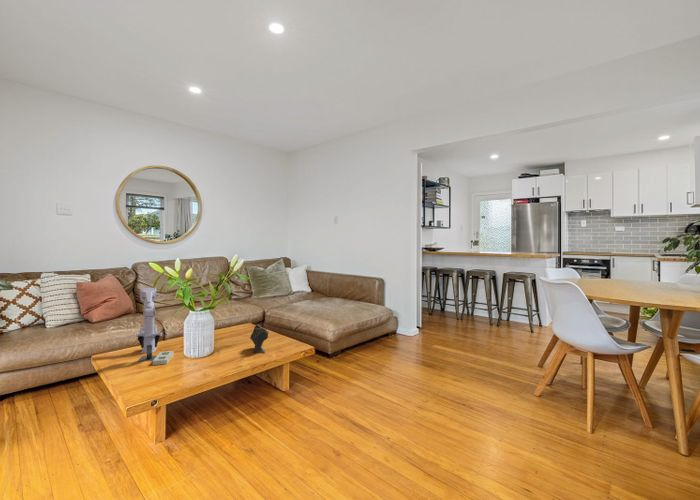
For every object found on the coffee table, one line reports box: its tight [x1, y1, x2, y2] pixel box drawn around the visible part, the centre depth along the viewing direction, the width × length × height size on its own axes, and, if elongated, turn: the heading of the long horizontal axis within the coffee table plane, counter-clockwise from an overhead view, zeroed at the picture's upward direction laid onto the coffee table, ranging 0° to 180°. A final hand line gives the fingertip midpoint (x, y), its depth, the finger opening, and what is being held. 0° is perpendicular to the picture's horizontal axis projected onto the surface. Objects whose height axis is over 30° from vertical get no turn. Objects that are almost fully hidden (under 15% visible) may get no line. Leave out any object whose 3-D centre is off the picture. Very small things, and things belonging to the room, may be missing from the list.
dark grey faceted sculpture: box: [249, 324, 269, 354], centre depth 240 cm, size 14×15×18 cm
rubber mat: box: [136, 354, 158, 363], centre depth 216 cm, size 10×10×1 cm
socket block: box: [152, 350, 174, 366], centre depth 215 cm, size 16×8×3 cm, turn 15°
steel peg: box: [146, 345, 153, 360], centre depth 215 cm, size 3×3×9 cm
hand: (149, 347), depth 215 cm, fingers open, 7 cm apart
